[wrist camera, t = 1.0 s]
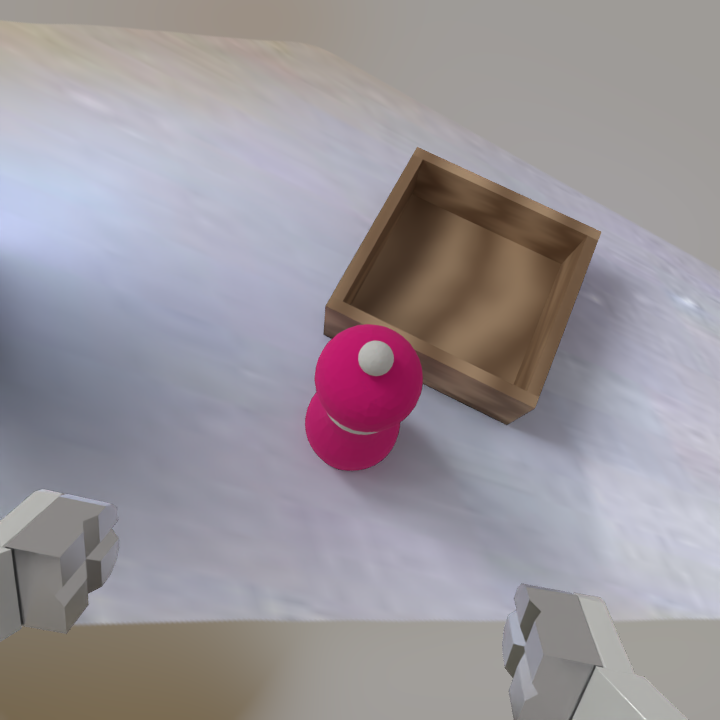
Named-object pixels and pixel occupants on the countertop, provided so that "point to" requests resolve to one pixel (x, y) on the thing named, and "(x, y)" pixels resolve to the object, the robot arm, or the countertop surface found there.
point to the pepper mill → (362, 396)
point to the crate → (468, 283)
